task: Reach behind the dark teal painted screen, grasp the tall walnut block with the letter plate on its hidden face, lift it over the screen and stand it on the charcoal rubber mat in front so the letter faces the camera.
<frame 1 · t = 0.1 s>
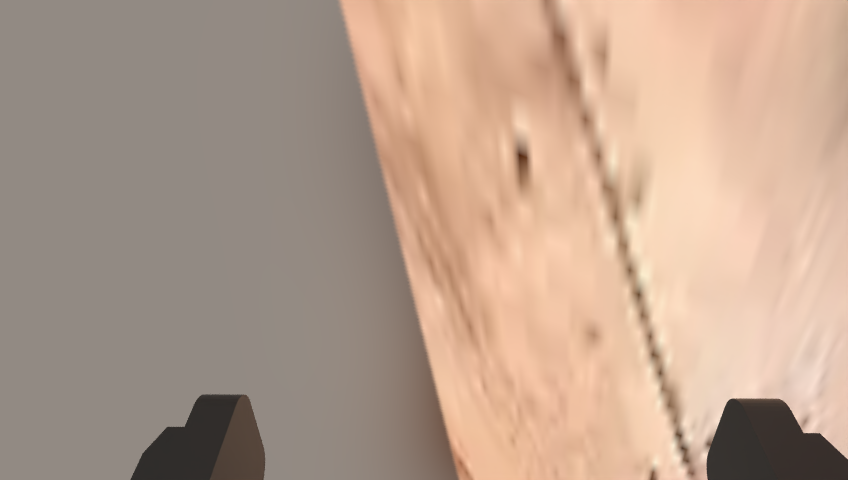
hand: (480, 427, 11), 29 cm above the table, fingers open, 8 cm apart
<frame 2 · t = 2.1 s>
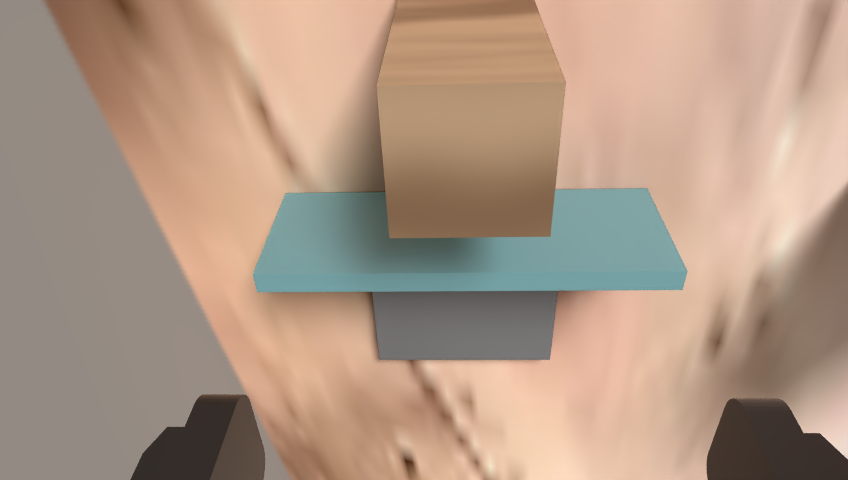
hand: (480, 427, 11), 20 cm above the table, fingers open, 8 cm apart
screen: (463, 199, 32), on the table
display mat: (463, 303, 36), on the table
letter block: (463, 40, 27), on the table
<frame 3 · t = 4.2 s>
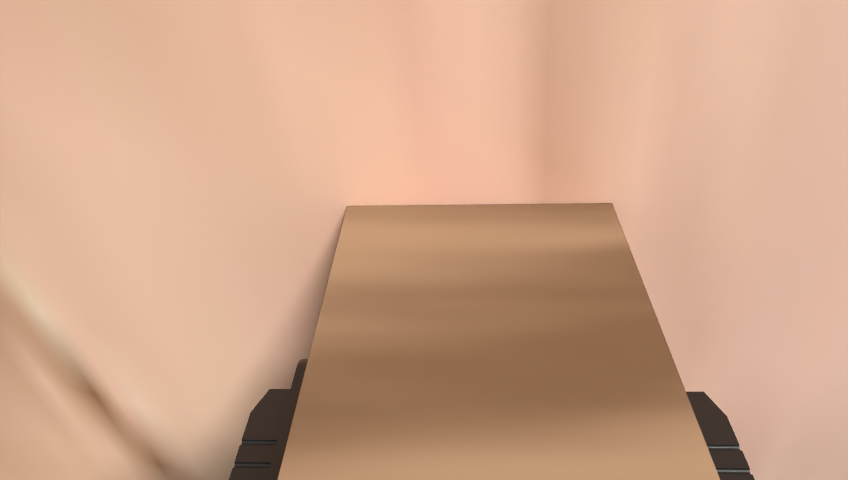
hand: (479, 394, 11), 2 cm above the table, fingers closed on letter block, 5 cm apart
letter block: (476, 304, 13), on the table, touching gripper
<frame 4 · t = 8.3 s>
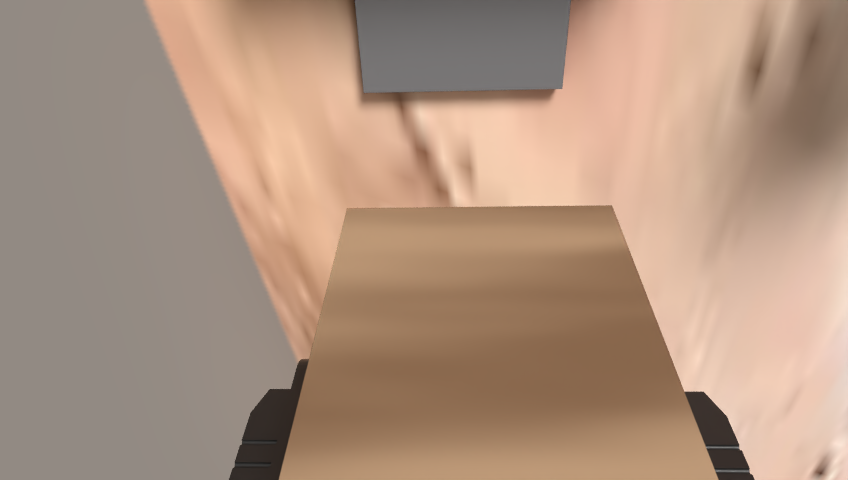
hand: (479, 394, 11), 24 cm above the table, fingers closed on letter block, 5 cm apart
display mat: (461, 14, 30), on the table
letter block: (476, 306, 13), point 21 cm above the table, touching gripper
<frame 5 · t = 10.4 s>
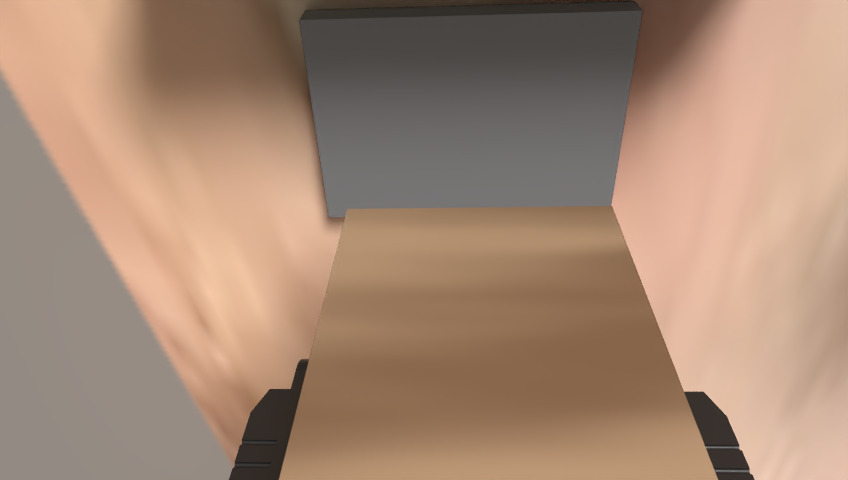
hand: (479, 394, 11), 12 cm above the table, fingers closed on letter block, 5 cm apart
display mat: (467, 112, 21), on the table
letter block: (476, 306, 13), point 10 cm above the table, touching gripper
when the fingers open (5 cm above the table, at t = 12.3 s): letter block drops 1 cm, resting on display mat.
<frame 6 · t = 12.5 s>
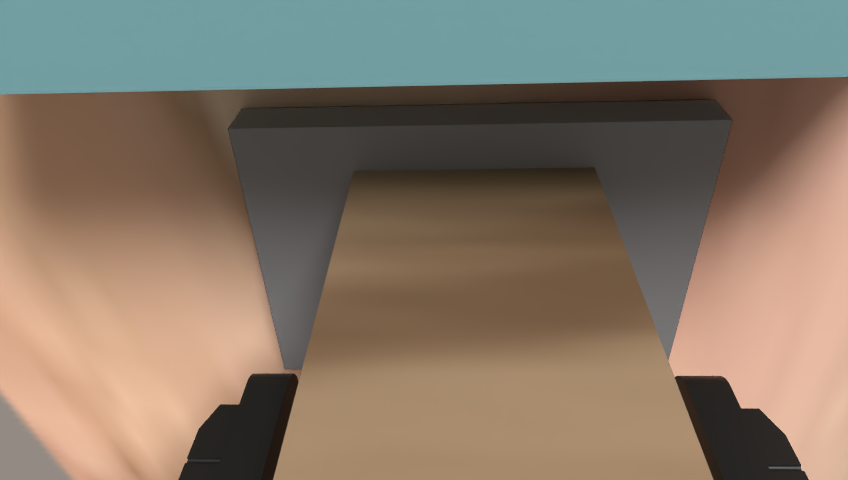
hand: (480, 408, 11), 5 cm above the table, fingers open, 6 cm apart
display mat: (472, 239, 15), on the table
letter block: (472, 264, 15), point 1 cm above the table, touching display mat
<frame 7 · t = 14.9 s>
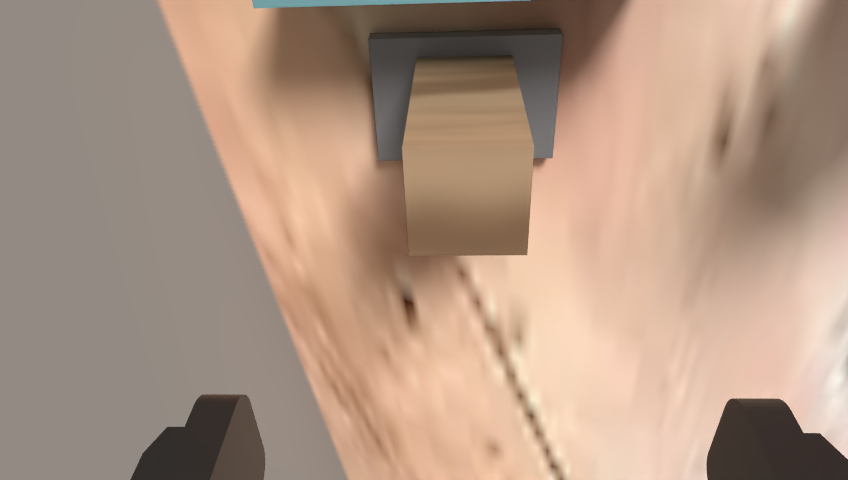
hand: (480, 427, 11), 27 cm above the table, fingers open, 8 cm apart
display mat: (464, 94, 35), on the table
letter block: (464, 101, 34), point 1 cm above the table, touching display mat
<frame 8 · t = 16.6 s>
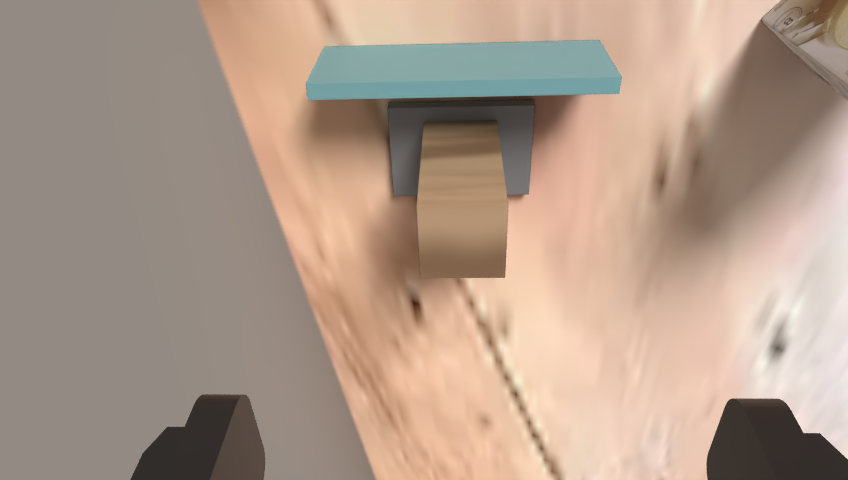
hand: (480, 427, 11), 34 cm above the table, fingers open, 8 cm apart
screen: (460, 50, 41), on the table
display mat: (460, 146, 45), on the table
letter block: (460, 153, 45), point 1 cm above the table, touching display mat
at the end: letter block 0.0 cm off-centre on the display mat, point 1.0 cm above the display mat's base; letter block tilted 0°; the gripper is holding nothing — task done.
